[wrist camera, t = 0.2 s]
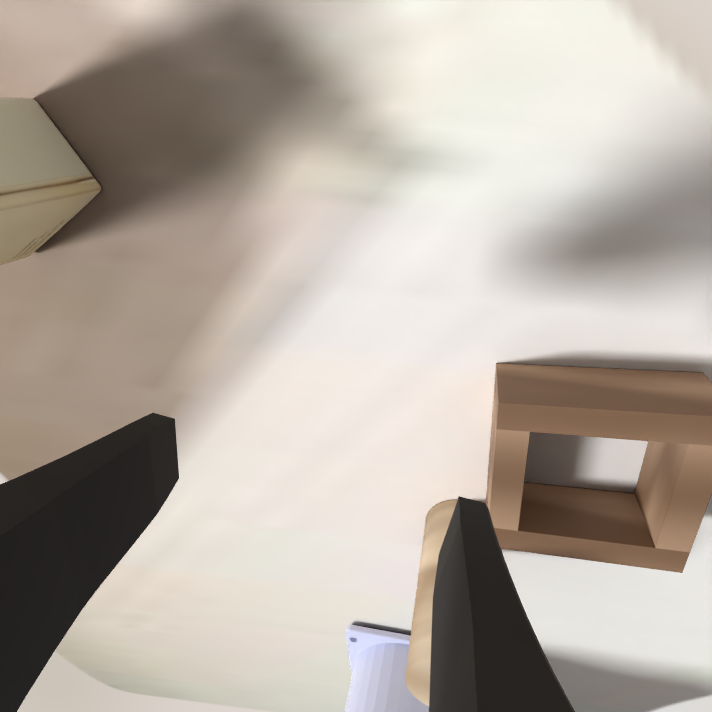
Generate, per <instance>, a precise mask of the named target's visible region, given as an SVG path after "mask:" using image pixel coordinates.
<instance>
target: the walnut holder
mask: <svg viewBox="0 0 712 712" xmlns="http://www.w3.org/2000/svg"><path fill="white" fill-rule="evenodd" d="M530 432H538V433H551V434H564V435H577V436H590V437H603V438H616V439H629V440H642V441H649V442H648V446H647V449H646V453H645V457H644V460H643V464H642V468H641V471H640V475H639V479H638V482H637V486H636V490H635V493H634V494H632V493H622V492H612V491H602V490H592V489H583V488H573V487H563V486H553V485H543V484H533V483H524V476H525V468H526V460H527V452H528V444H529V436H530ZM711 495H712V383H711V382H710V381H709V379H708V378H707V377H706V376H705V374H704V373H700V372H678V371H656V370H633V369H611V368H589V367H566V366H544V365H522V364H500V363H496V374H495V387H494V401H493V414H492V428H491V441H490V454H489V468H488V481H487V495H486V505H487V507H488V508H489V512H490V516H491V519H492V523H493V526H494V529H495V533H496V536H497V539H498V542H499V545H500V548H501V549H509V550H516V551H524V552H531V553H539V554H546V555H554V556H561V557H568V558H576V559H583V560H591V561H598V562H606V563H613V564H621V565H628V566H635V567H643V568H650V569H658V570H665V571H673V572H680V573H682V572H683V569H684V567H685V564H686V561H687V559H688V556H689V553H690V551H691V548H692V545H693V543H694V540H695V537H696V535H697V532H698V529H699V527H700V524H701V521H702V519H703V516H704V513H705V511H706V508H707V505H708V503H709V500H710V497H711Z"/></svg>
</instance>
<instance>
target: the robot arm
mask: <svg viewBox="0 0 712 712" xmlns="http://www.w3.org/2000/svg"><path fill="white" fill-rule="evenodd" d="M178 479H179V472H178V458H177V444H176V430H175V419H173V418H170V417H166V416H162V415H159V414H155V413H152V414H149V415H147V416H145V417H143V418H141V419H139V420H137V421H135V422H133V423H131V424H129V425H127V426H125V427H123V428H121V429H119V430H117V431H115V432H113V433H111V434H109V435H107V436H105V437H103V438H101V439H99V440H97V441H95V442H93V443H91V444H89V445H86V446H84V447H82V448H80V449H78V450H76V451H74V452H72V453H70V454H68V455H66V456H64V457H62V458H60V459H57V460H55V461H53V462H51V463H48V464H46V465H44V466H42V467H40V468H37V469H35V470H33V471H31V472H28V473H26V474H24V475H22V476H20V477H17V478H15V479H13V480H10V481H8V482H5V483H3V484H0V712H17V710H18V709H19V707H20V705H21V703H22V702H23V700H24V699H25V696H26V695H27V694H28V692H29V690H30V689H31V687H32V686H33V684H34V683H35V681H36V679H37V678H38V676H39V675H40V673H41V671H42V670H43V668H44V667H45V665H46V664H47V662H48V660H49V659H50V657H51V656H52V654H53V652H54V651H55V649H56V648H57V646H58V645H59V643H60V642H61V640H62V639H63V637H64V636H65V634H66V633H67V631H68V630H69V628H70V627H71V625H72V624H73V622H74V621H75V619H76V618H77V616H78V615H79V613H80V612H81V610H82V609H83V607H84V606H85V605H86V603H87V602H88V601H89V599H90V598H91V597H92V595H93V594H94V593H95V591H96V590H97V589H98V588H99V586H100V585H101V584H102V583H103V581H104V580H105V579H106V578H107V576H108V575H109V574H110V573H111V571H112V570H113V569H114V568H115V566H116V565H117V564H118V563H119V561H120V560H121V559H122V558H123V556H124V555H125V554H126V553H127V551H128V550H129V549H130V548H131V546H132V545H133V544H134V543H135V541H136V540H137V539H138V538H139V536H140V535H141V534H142V533H143V531H144V530H145V529H146V528H147V526H148V525H149V524H150V522H151V521H152V520H153V519H154V517H155V516H156V515H157V513H158V512H159V510H160V509H161V507H162V505H163V504H164V502H165V501H166V499H167V498H168V496H169V494H170V492H171V491H172V489H173V487H174V486H175V484H176V482H177V481H178ZM346 639H347V646H348V653H349V660H350V667H351V675H352V679H351V683H350V688H349V692H348V697H347V701H346V706H345V710H344V712H575V711H574V709H573V707H572V706H571V704H570V702H569V700H568V698H567V697H566V695H565V693H564V691H563V689H562V687H561V685H560V683H559V681H558V680H557V678H556V676H555V674H554V672H553V670H552V668H551V666H550V664H549V662H548V660H547V658H546V656H545V654H544V652H543V650H542V648H541V646H540V644H539V641H538V639H537V637H536V635H535V633H534V630H533V628H532V626H531V624H530V622H529V619H528V617H527V615H526V613H525V610H524V608H523V606H522V603H521V601H520V598H519V596H518V593H517V591H516V588H515V586H514V583H513V581H512V578H511V576H510V573H509V570H508V568H507V565H506V562H505V560H504V557H503V554H502V551H501V548H500V545H499V542H498V539H497V536H496V533H495V529H494V526H493V523H492V519H491V516H490V512H489V508H488V507H487V505H486V504H485V503H481V502H477V501H474V500H470V499H466V498H463V497H459V498H458V501H457V503H456V506H455V509H454V512H453V515H452V518H451V521H450V523H449V526H448V529H447V532H446V535H445V538H444V541H443V544H442V546H441V549H440V552H439V557H438V564H437V571H436V578H435V585H434V593H433V607H432V635H431V666H430V698H429V706H427V705H425V704H424V703H422V702H421V701H419V700H418V699H417V698H416V697H414V696H413V695H412V693H411V692H410V691H409V689H408V688H407V686H406V683H405V674H406V667H407V659H408V651H409V644H410V635H405V634H400V633H394V632H389V631H383V630H378V629H372V628H367V627H362V626H356V625H349V626H348V627H347V630H346Z"/></svg>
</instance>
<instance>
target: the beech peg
mask: <svg viewBox="0 0 712 712" xmlns="http://www.w3.org/2000/svg"><path fill="white" fill-rule="evenodd" d="M457 501H458V500H447V501H443V502H440V503H438V504H436V505H435V506H433V507H432V508H431V509H430V510H429V512H428V514H427V516H426V522H425V530H424V538H423V545H422V553H421V560H420V568H419V575H418V583H417V591H416V598H415V606H414V613H413V621H412V629H411V636H410V644H409V651H408V659H407V667H406V674H405V683H406V686H407V688H408V689H409V691H410V692H411V693H412V695H413V696H414V697H416V698H417V699H418V700H419V701H421V702H422V703H424V704H425V705H427V706H429V698H430V666H431V635H432V607H433V593H434V585H435V578H436V571H437V564H438V557H439V552H440V549H441V546H442V544H443V541H444V538H445V535H446V532H447V529H448V526H449V523H450V521H451V518H452V515H453V512H454V509H455V506H456V503H457Z"/></svg>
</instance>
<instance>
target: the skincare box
mask: <svg viewBox="0 0 712 712" xmlns="http://www.w3.org/2000/svg"><path fill="white" fill-rule="evenodd" d="M100 191H101V186H100V185H99V183H98V182H97V181H96V180H95V178H94V177H93V176H92V174H91V173H90V171H89V170H88V169H87V167H86V166H85V165H84V163H83V162H82V161H81V160H80V158H79V157H78V155H77V154H76V153H75V151H74V150H73V149H72V147H71V146H70V145H69V143H68V142H67V141H66V140H65V138H64V137H63V136H62V134H61V133H60V132H59V130H58V129H57V128H56V126H55V125H54V124H53V122H52V121H51V120H50V118H49V117H48V116H47V115H46V113H45V112H44V111H43V109H42V108H41V107H40V105H39V104H38V103H37V102H36V101H35V100H34V99H31V98H4V97H0V265H2V264H5V263H9V262H12V261H15V260H18V259H21V258H25V257H28V256H30V255H31V254H32V253H33V252H35V251H36V250H37V249H38V248H39V247H40V246H42V245H43V244H44V243H45V242H46V241H47V240H48V239H50V238H51V237H52V236H53V235H54V234H55V233H56V232H57V231H58V230H60V229H61V228H62V227H63V226H64V225H65V224H66V223H67V222H68V221H69V220H71V219H72V218H73V217H74V216H75V215H76V214H77V213H78V212H79V211H80V210H81V209H82V208H83V207H85V206H86V205H87V204H88V203H89V202H90V201H91V200H92V199H93V198H94V197H95V196H96V195H97V194H98V193H99V192H100Z"/></svg>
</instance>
